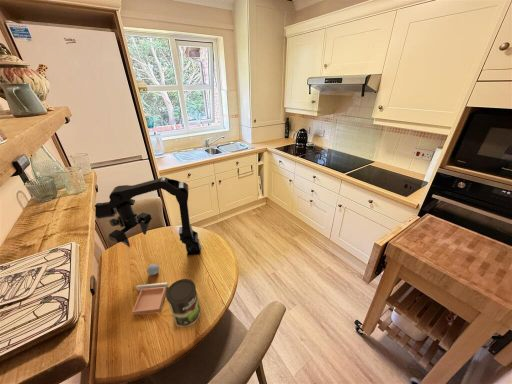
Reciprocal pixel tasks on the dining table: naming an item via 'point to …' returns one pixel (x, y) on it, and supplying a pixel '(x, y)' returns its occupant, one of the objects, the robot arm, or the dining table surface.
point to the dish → (149, 300)
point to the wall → (152, 286)
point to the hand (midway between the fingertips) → (137, 240)
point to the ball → (153, 269)
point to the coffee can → (183, 302)
